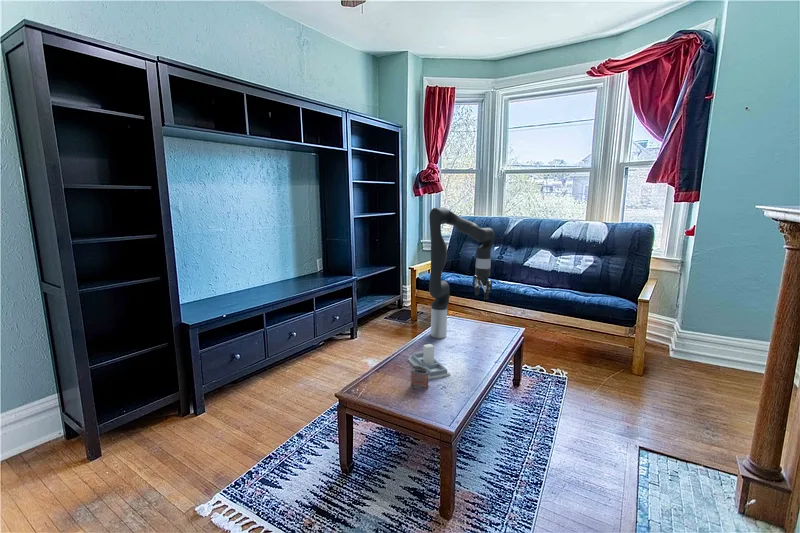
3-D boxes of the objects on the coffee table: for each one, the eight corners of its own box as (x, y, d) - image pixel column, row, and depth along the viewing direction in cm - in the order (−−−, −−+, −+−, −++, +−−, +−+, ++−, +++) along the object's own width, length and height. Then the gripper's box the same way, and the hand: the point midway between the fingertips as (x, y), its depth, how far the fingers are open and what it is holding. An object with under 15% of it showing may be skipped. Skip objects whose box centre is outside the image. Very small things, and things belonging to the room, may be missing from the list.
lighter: (429, 386, 170) (429, 365, 169) (427, 390, 167) (427, 368, 165) (411, 383, 173) (412, 362, 171) (409, 387, 170) (409, 366, 168)
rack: (408, 360, 197) (408, 354, 196) (429, 356, 201) (429, 351, 201) (427, 379, 177) (427, 373, 176) (450, 375, 181) (450, 368, 181)
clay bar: (423, 364, 190) (423, 345, 188) (430, 363, 191) (430, 343, 189) (426, 367, 187) (426, 347, 185) (433, 365, 188) (434, 346, 186)
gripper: (469, 264, 205) (468, 294, 208) (484, 269, 192) (483, 301, 195) (481, 263, 208) (480, 293, 211) (497, 268, 195) (495, 300, 198)
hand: (481, 297), depth 203 cm, fingers open, 8 cm apart
